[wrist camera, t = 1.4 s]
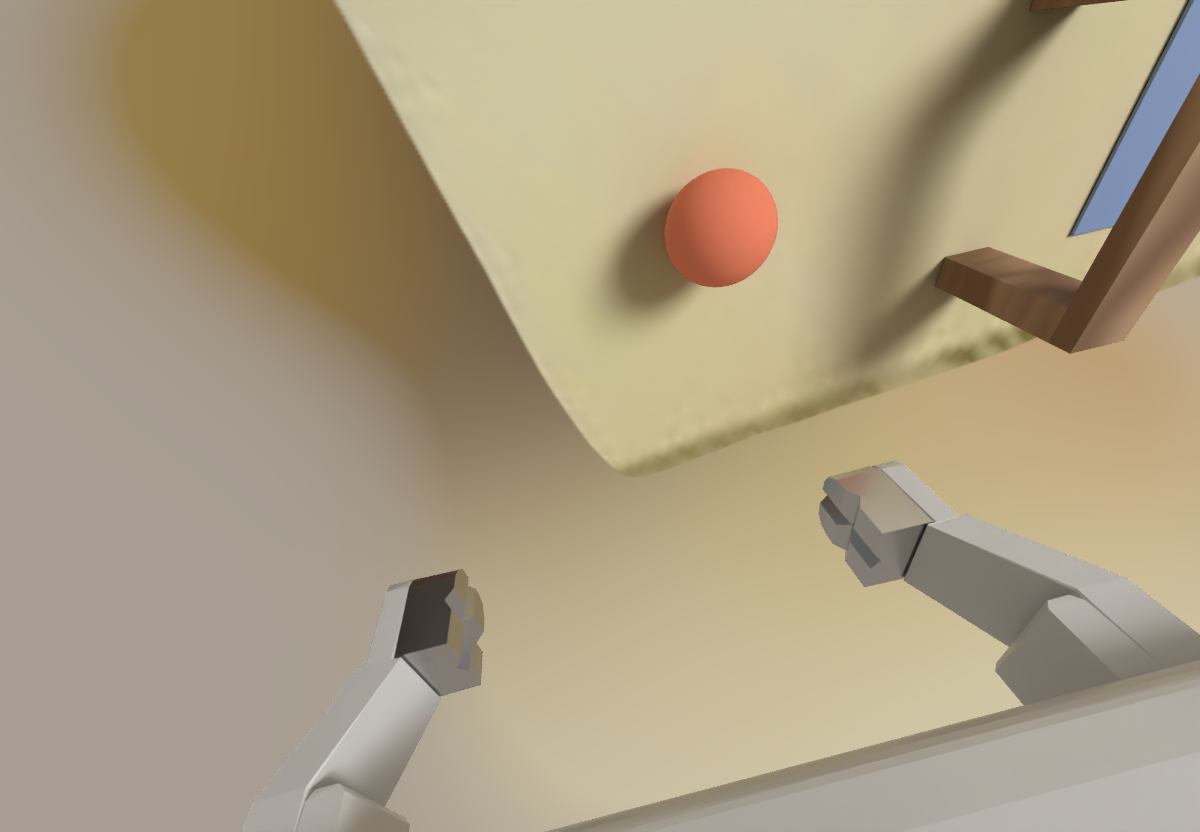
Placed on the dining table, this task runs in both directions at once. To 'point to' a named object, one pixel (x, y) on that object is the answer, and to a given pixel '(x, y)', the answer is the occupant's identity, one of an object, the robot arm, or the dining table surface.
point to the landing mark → (1146, 124)
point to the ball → (721, 227)
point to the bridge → (1124, 263)
